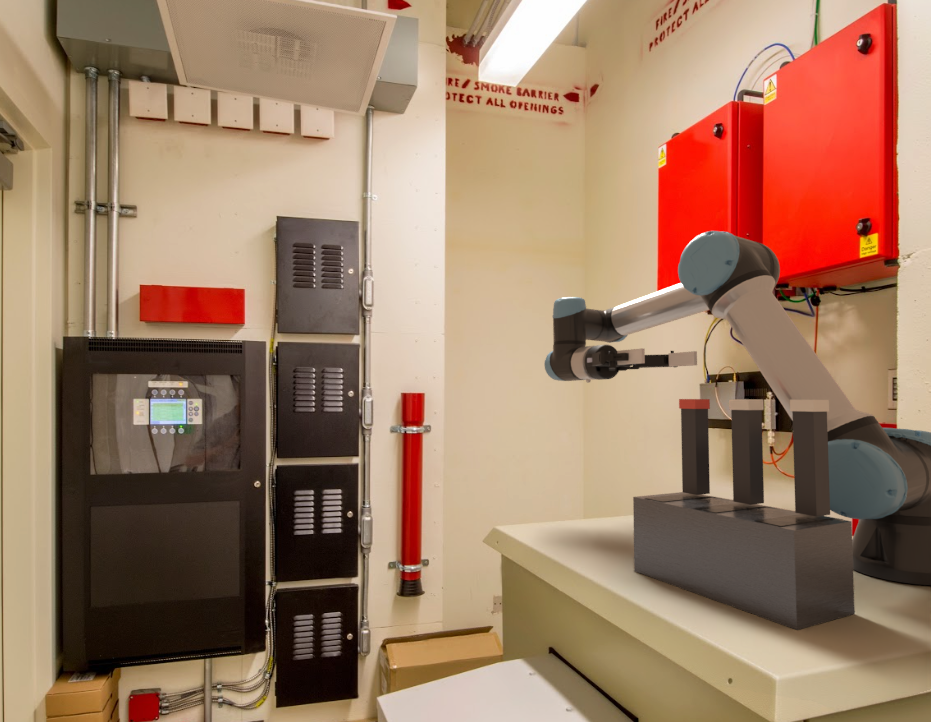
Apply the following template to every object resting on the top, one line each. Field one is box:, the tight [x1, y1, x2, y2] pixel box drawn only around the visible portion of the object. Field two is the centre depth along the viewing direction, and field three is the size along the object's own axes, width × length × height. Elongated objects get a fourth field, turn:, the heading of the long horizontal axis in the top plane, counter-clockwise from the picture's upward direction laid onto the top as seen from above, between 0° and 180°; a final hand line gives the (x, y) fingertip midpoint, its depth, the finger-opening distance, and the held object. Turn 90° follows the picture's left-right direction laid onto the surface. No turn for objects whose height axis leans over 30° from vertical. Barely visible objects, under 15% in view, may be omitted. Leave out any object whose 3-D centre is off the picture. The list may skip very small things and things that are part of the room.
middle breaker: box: [728, 398, 765, 505], centre depth 92 cm, size 3×3×16 cm
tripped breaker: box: [678, 398, 711, 495], centre depth 101 cm, size 3×3×16 cm
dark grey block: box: [632, 491, 856, 631], centre depth 89 cm, size 28×12×12 cm, turn 28°
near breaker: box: [790, 400, 831, 517], centre depth 83 cm, size 3×3×16 cm
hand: (670, 357), depth 114 cm, fingers open, 13 cm apart
